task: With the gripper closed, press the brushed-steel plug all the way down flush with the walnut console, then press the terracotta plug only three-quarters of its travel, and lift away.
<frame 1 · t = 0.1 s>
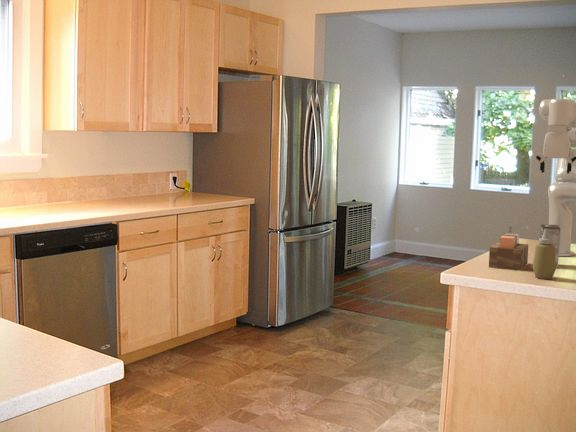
hand: (555, 172, 290), 37 cm above the counter, tool pointing down, fingers open, 9 cm apart
terracotta plug: (507, 244, 282), point 9 cm above the counter, slide at 0.0 cm
plug console: (508, 265, 287), on the counter
steel plug: (511, 241, 289), point 9 cm above the counter, slide at 0.0 cm
squeeze bottle: (543, 278, 263), on the counter
coffee box: (548, 266, 288), on the counter
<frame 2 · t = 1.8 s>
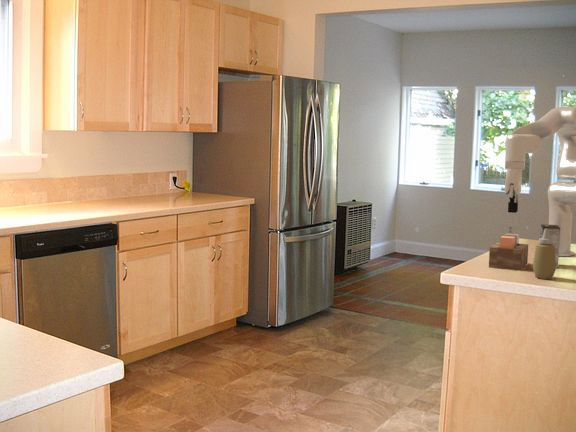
hand: (512, 211, 288), 21 cm above the counter, tool pointing down, fingers closed
nothing on the counter moved.
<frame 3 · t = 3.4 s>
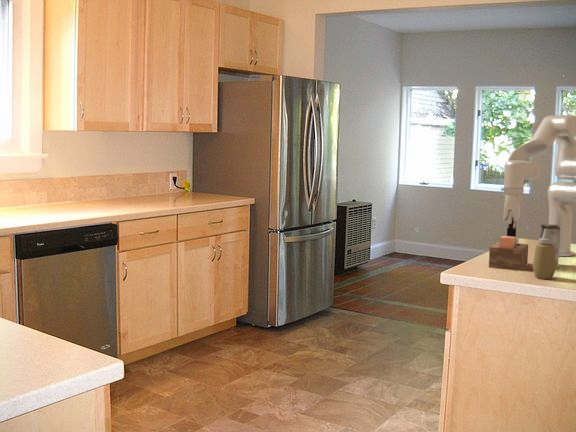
hand: (511, 237, 289), 11 cm above the counter, tool pointing down, fingers closed
steel plug: (511, 245, 290), point 8 cm above the counter, slide at 1.4 cm, touching gripper
everything else where it was.
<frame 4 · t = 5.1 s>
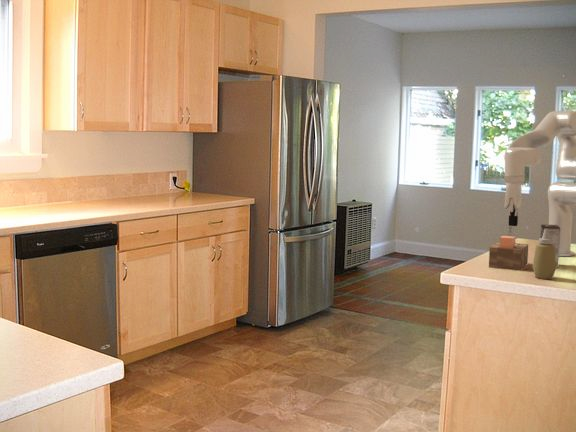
hand: (513, 225, 289), 16 cm above the counter, tool pointing down, fingers closed
steel plug: (510, 251, 290), point 5 cm above the counter, slide at 4.1 cm
everything else where it was.
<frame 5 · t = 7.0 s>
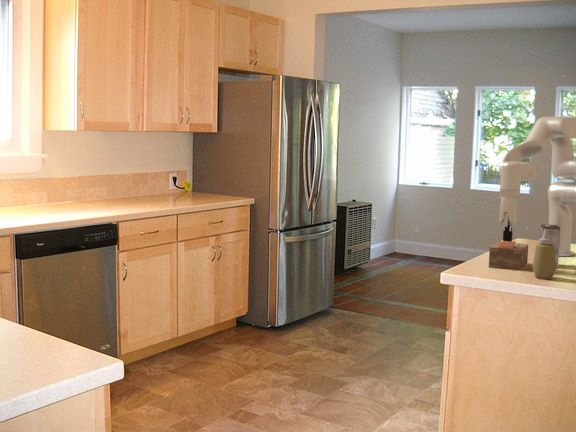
hand: (507, 240, 282), 10 cm above the counter, tool pointing down, fingers closed
terracotta plug: (507, 248, 283), point 7 cm above the counter, slide at 1.6 cm, touching gripper
everything else where it was.
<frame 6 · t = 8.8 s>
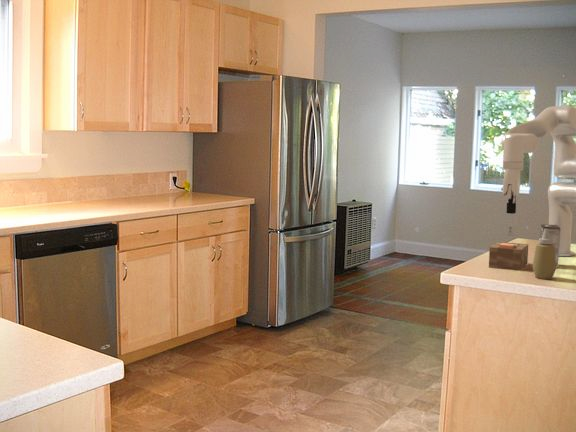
hand: (511, 213, 282), 21 cm above the counter, tool pointing down, fingers closed
terracotta plug: (507, 251, 283), point 6 cm above the counter, slide at 2.9 cm
everything else where it was.
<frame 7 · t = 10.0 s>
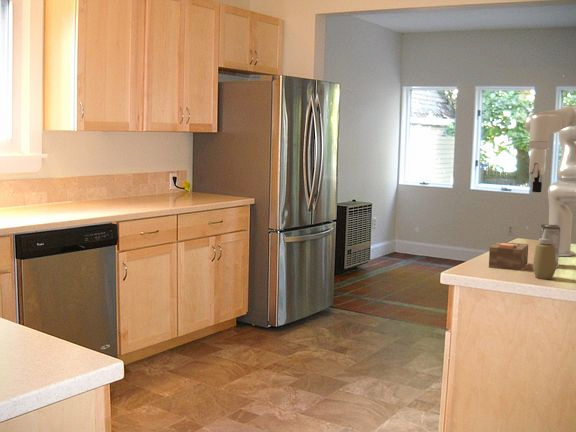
hand: (536, 192, 288), 29 cm above the counter, tool pointing down, fingers closed
nothing on the counter moved.
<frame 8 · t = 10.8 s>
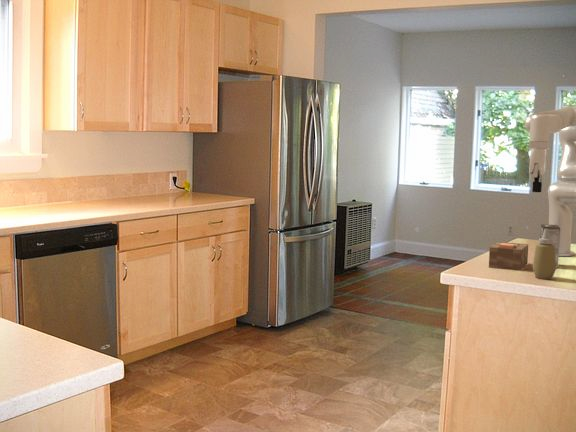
hand: (536, 192, 288), 29 cm above the counter, tool pointing down, fingers closed
nothing on the counter moved.
at the end: steel plug slide at 4.1 cm; terracotta plug slide at 2.9 cm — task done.
